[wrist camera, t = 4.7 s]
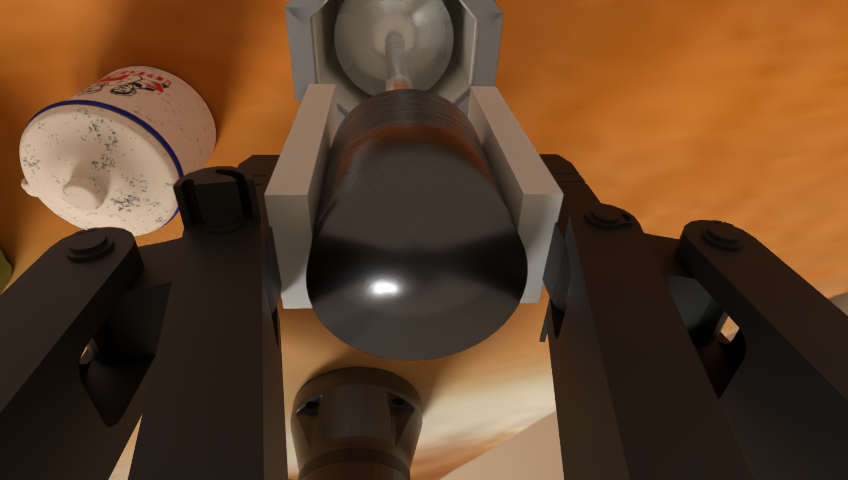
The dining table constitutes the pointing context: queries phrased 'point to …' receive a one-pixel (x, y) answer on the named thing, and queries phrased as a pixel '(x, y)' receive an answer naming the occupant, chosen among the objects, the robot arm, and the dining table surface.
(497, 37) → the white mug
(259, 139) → the dining table surface
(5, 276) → the plant pot
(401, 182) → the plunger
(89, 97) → the teacup with lid
